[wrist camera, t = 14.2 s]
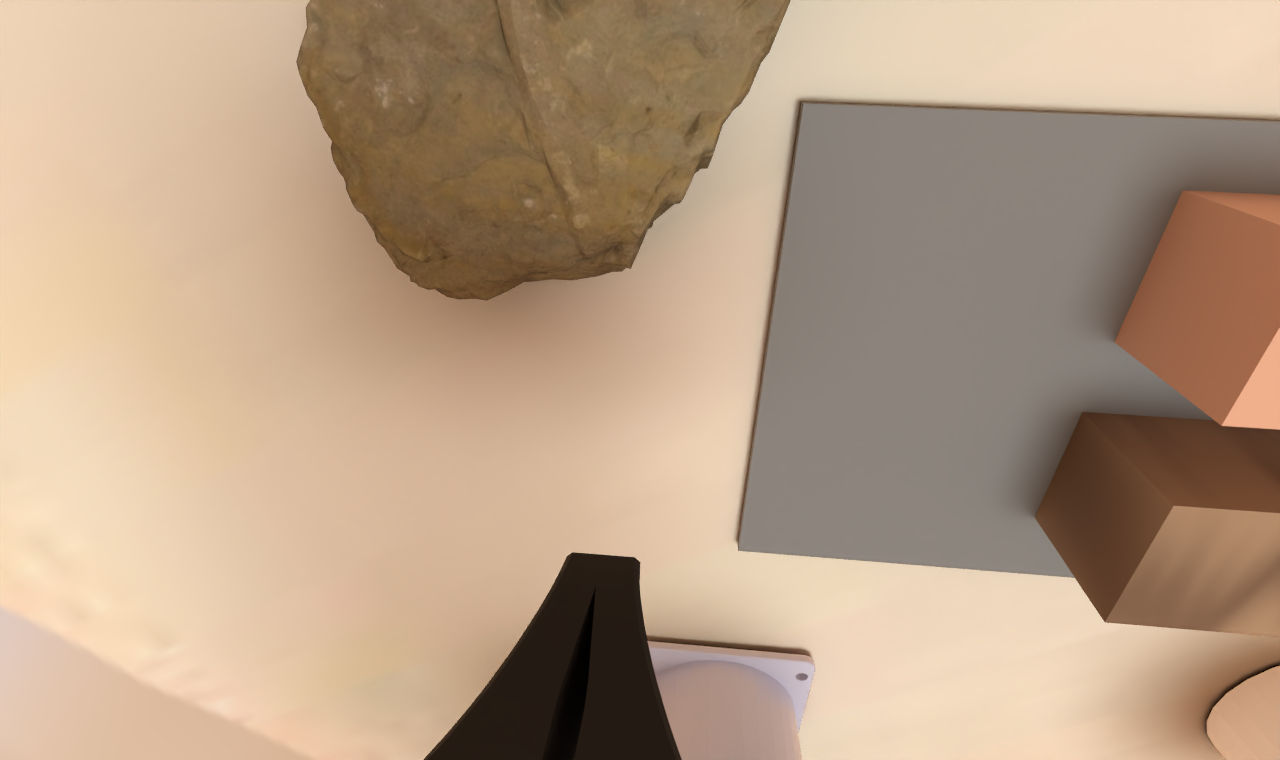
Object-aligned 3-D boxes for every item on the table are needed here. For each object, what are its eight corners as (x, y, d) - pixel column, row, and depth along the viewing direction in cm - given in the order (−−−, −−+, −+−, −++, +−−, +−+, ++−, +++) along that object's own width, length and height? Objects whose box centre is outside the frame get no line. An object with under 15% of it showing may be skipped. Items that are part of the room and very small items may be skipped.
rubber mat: (1272, 585, 24) (1281, 594, 23) (737, 543, 25) (738, 550, 24) (1616, 133, 16) (1636, 136, 15) (801, 101, 17) (803, 103, 16)
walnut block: (1034, 517, 22) (1264, 534, 22) (1104, 622, 19) (1385, 645, 18) (1082, 411, 20) (1340, 428, 20) (1173, 505, 16) (1497, 529, 16)
